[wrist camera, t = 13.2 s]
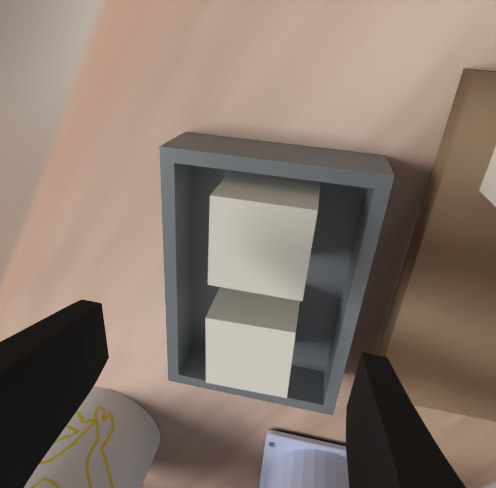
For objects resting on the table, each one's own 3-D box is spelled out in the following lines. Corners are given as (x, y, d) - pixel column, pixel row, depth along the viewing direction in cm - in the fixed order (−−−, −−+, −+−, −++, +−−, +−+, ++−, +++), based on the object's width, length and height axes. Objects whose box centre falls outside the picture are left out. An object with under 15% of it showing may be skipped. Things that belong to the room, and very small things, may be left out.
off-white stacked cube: (308, 254, 19) (302, 301, 16) (230, 242, 20) (207, 284, 16) (321, 177, 17) (317, 210, 14) (234, 166, 18) (209, 195, 14)
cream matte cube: (294, 341, 22) (286, 398, 18) (225, 330, 22) (205, 382, 19) (302, 282, 20) (295, 332, 16) (227, 271, 20) (205, 317, 17)
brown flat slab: (497, 401, 22) (507, 424, 20) (370, 376, 23) (372, 396, 21) (669, 85, 14) (704, 89, 13) (463, 68, 15) (476, 70, 14)
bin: (332, 373, 23) (332, 415, 20) (186, 344, 24) (168, 380, 22) (385, 155, 17) (394, 175, 14) (184, 132, 18) (159, 146, 15)
